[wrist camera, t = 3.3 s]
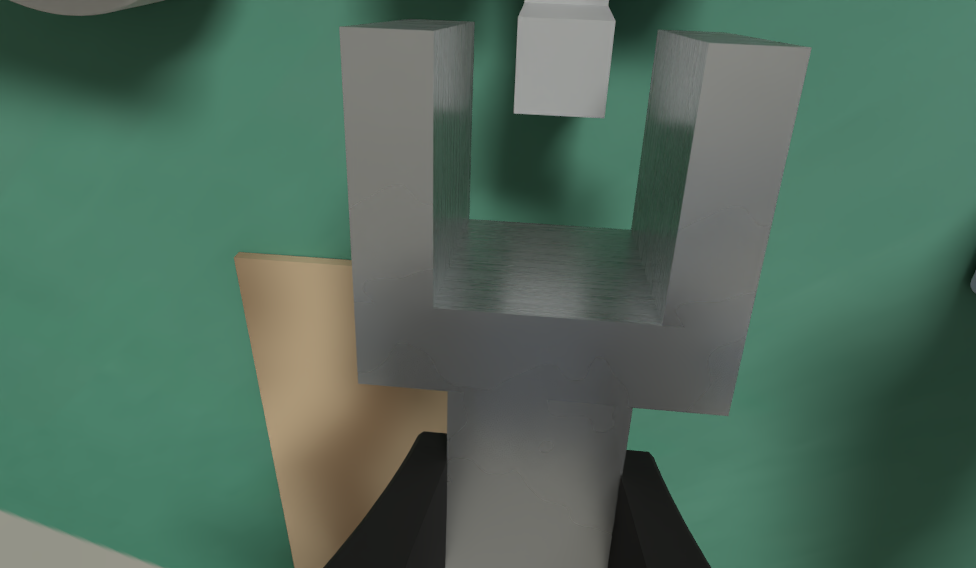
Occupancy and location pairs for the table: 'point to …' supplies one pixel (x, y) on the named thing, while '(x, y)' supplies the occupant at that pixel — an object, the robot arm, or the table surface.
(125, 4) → the wall hook
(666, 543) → the robot arm
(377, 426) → the cork mat
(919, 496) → the table surface
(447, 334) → the steel fork
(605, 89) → the vise
